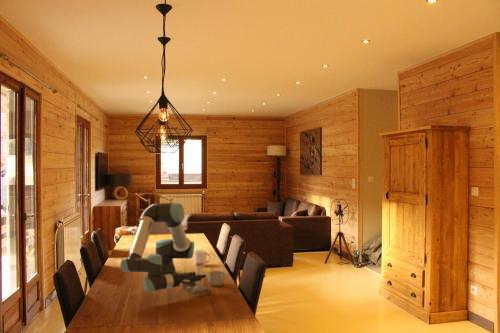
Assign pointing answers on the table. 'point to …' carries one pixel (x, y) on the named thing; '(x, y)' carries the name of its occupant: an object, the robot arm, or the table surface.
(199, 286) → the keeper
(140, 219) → the robot arm
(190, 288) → the track
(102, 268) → the table surface
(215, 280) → the teacup
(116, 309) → the table surface
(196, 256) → the mug
